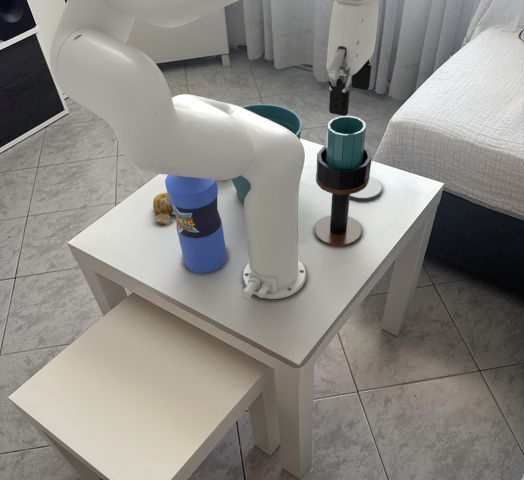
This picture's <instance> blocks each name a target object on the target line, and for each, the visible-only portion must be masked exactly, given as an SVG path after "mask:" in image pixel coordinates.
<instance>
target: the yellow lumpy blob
mask: <svg viewBox="0 0 524 480" xmlns="http://www.w3.org/2000/svg"><path fill="white" fill-rule="evenodd" d="M152 203H153V204H152V207H153V210H154V212H155V213H156V214H157V215H156V216H154V219H153V220H154V222H155V223H158V224H160V225H165V226H167V225H169V224H170V223H171V216H170V215H174V216H176V215H175V212H174V209H173V207H172V204H171V202H170V200H169V198H168V193H167V192H162V193H159V194H157V195H156V196H155V197H154V198H153V202H152Z"/></svg>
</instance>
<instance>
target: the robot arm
mask: <svg viewBox="0 0 524 480" xmlns="http://www.w3.org/2000/svg"><path fill="white" fill-rule="evenodd" d="M239 1H240V0H66V2H65V5H64V8H63V10H62V13H61V15H60V18H59V20H58V23H57V25H56V28H55V31H54V34H53V38H52V41H51V46H50V50H49V64H50V71H51V74H52V76H53V78H54V79H53V80H54V81H55V83H56V85H57V86H58V88H59V89H60V90H61V91H62V92H63V94H65V95H66V97H68V98H69V99H70V100H72V101H73V102H75V103H76V104H78V105H80V106H81V107H83V108H84V109H86V110H88V111H89V112H90V113H93V114H94V115H96V117H98V118H100V119H102V120H103V121H105V122H106V123H107V124H108V125H109V126H110V128H111V129H112V131H113V133H114V134H115V137H116V140H117V141H118V144H119V148H120V149H121V152H122V153H123V155H124V157H125V159H126V160H127V161H128V162H129V163H130V164H131V165H132V166H133V167H134V168H136V169H137V170H139V171H141V172H144V173H147V174H154V175H155V174H156V175H166V176H168V175H176V176H182V177H193V178H204V179H213V180H217V181H228V180H231V179H233V178H236V177H238V176H240V175H241V176H243V177H244V178H246V179H247V180H248V181H249V182H250V184H251V189H250V191H249V192H248V194H247V195H246V197H245V201H244V203H243V212H244V213H243V214H244V221H245V229H246V230H245V231H246V241H247V251H248V260H249V262H247V264H246V265H245V267H244V269H243V273H242V278H243V283H244V286H245V287H244V288H243V289H242V290H241V293H240V295H241V297H243V298H244V299H245V300H250V298H251V297H252V296H253V295H255V296H257V297H258V298H260V299H268V300H278V299H284V298H288V297H290V296H292V295H294V294H297V292H298V291H300V290H301V289H302V287H303V286H304V284H305V282H306V277H307V273H306V272H307V271H306V268H305V264H303V263H302V262H301V260H300V259H299V191H300V183H301V178H302V174H303V170H304V166H305V159H306V152H305V148H304V145H303V142H302V141H301V139H300V140H299V138H298V137H297V136H296V135H295V134H294V133H293V132H291V131H290V130H288V129H287V128H285V127H283V126H281V125H279V124H277V123H275V122H273V121H271V120H269V119H266V118H264V117H261V116H259V115H257V114H255V113H253V112H251V111H249V110H246V109H244V108H242V107H243V106H239V105H236V104H232V103H228V102H224V101H219V100H215V99H212V98H207V97H202V96H198V95H195V94H190V93H188V94H187V93H184V94H178V95H174V96H172V94H171V90H170V88H169V85H168V82H167V79H166V78H165V75H164V74H163V72H162V70H161V69H160V67H158V64H157V63H156V62H155V61H153V59H152V58H151V57H150V56H149V55H147V54H146V53H145V52H144V51H142V50H140V49H138V48H136V47H135V46H133V45H131V44H128V40H129V37H130V35H131V32H132V30H133V27H134V24H135V22H136V19H137V20H140V21H141V22H144V23H147V24H149V25H152V26H155V27H158V28H164V29H173V28H179V27H182V26H185V25H186V24H189V23H192V22H194V21H196V20H198V19H201V18H203V17H205V16H208V15H210V14H212V13H214V12H216V11H218V10H220V9H223V8H226V7H227V6H230V5H232V4H235V3H236V2H239ZM379 8H380V0H334V1H333V4H332V10H331V16H330V22H329V23H330V24H329V31H328V41H327V51H326V52H327V53H326V71H327V75H328V85H329V87H328V89H329V103H328V105H329V106H328V112H329V113H330V114H332V115H338V116H348V114H349V106H350V105H349V103H350V95H351V94H350V90H349V86H351V87H352V88H353V89H359V90H363V91H368V90H369V89H370V85H371V75H372V64H373V60H374V57H373V54H374V51H375V47H376V42H377V34H378V23H379V22H378V21H379ZM343 68H348V69H343ZM341 76H344V77H345V78H344V81H343V79H341V78H340V77H341ZM350 83H351V85H350Z"/></svg>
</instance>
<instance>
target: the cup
mask: <svg viewBox="0 0 524 480" xmlns="http://www.w3.org/2000/svg"><path fill="white" fill-rule="evenodd" d="M366 132H367V124H366V121H364V120H363V119H362V118H360V117H358V116H352V115H346V116H342V115H339V116H336V117H334V118H332V119H330V120H329V121H328V123H327V125H326V145H325V146H326V162H325V164H327V165H328V166H330V167H334V168H338V169H353V168H356V167H358V166H361V165H362V160H363V151H364V147H365V143H366V142H365V141H366V134H367V133H366Z"/></svg>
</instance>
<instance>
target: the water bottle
mask: <svg viewBox="0 0 524 480" xmlns="http://www.w3.org/2000/svg"><path fill="white" fill-rule="evenodd" d="M164 184H165V188H166V189H165V190H166V193H168V198H169V200H170V202H171V204H172V207H173V209H174V212H175V215H174V216H175V222H176V223H175V224H176V225H175V226H176V232H177V236H178V240H179V241H178V242H179V246H180V249H181V254H182V258H183V262H184V265H185V267H186V268H187V269H188V270H190V271H192V272H195V273H201V274H203V273H211V272H214V271H216V270H218V269H220V268H221V267H222V266H223V265H224V264H225V263H226V261H227V248H226V243H225V241H226V240H225V236H224V228H223V222H222V218H221V215H220V212H219V209H218V195H219V188H218V180H213V179H204V178H193V177H182V176H176V175H166V177H165V180H164Z"/></svg>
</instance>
